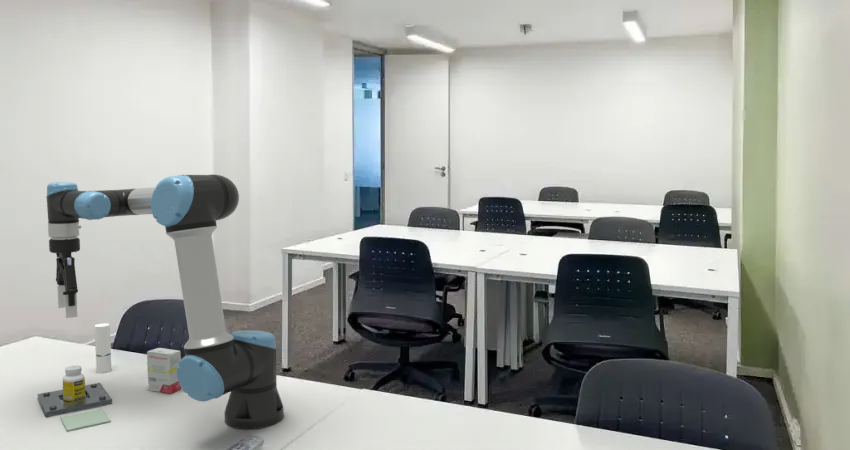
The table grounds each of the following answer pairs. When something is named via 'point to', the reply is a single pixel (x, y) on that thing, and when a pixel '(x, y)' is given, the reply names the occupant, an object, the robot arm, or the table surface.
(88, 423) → the mat
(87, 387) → the grey mounting plate
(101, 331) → the tube
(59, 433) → the table surface
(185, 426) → the table surface
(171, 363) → the ink box
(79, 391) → the supplement bottle
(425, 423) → the table surface
